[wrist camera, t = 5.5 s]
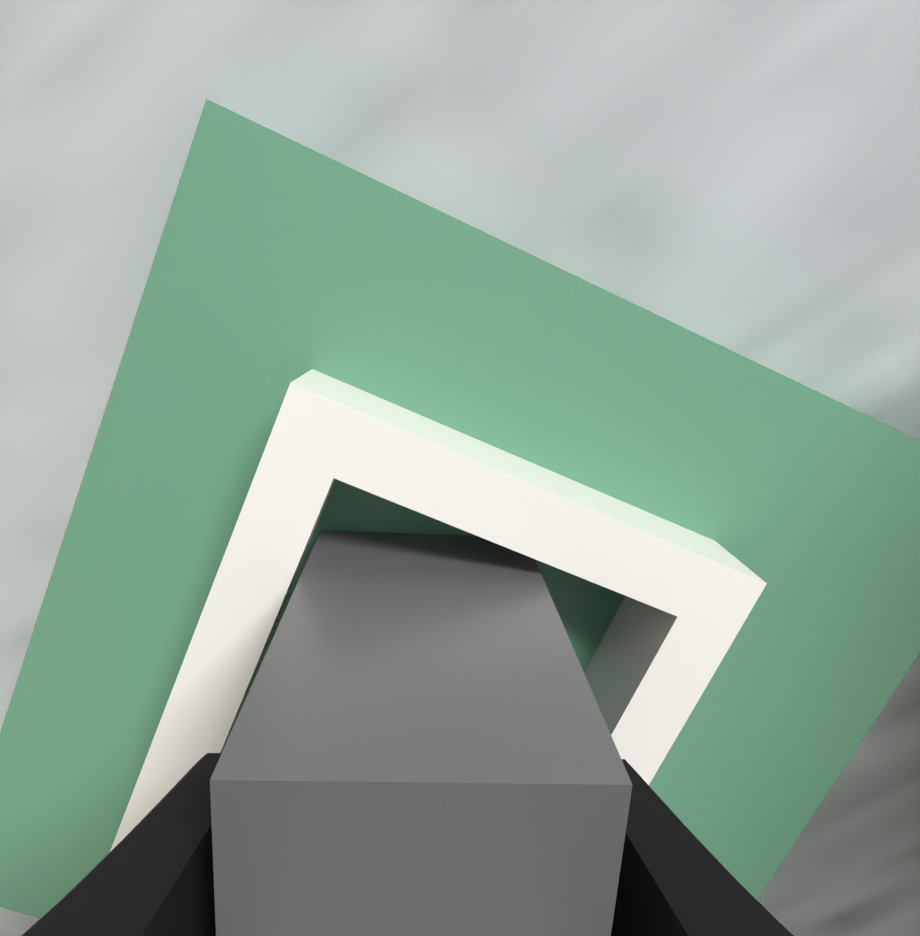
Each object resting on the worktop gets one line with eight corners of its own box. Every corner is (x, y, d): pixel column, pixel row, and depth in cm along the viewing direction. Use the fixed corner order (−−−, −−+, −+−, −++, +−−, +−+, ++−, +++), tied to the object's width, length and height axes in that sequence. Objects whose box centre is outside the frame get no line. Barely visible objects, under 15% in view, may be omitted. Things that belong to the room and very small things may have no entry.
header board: (988, 480, 12) (1131, 524, 10) (626, 1044, 16) (665, 1188, 13) (223, 114, 10) (157, 53, 8) (-24, 857, 13) (-129, 988, 11)
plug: (525, 538, 11) (632, 784, 6) (501, 819, 13) (565, 1250, 7) (321, 530, 11) (209, 779, 5) (318, 817, 13) (229, 1261, 7)
